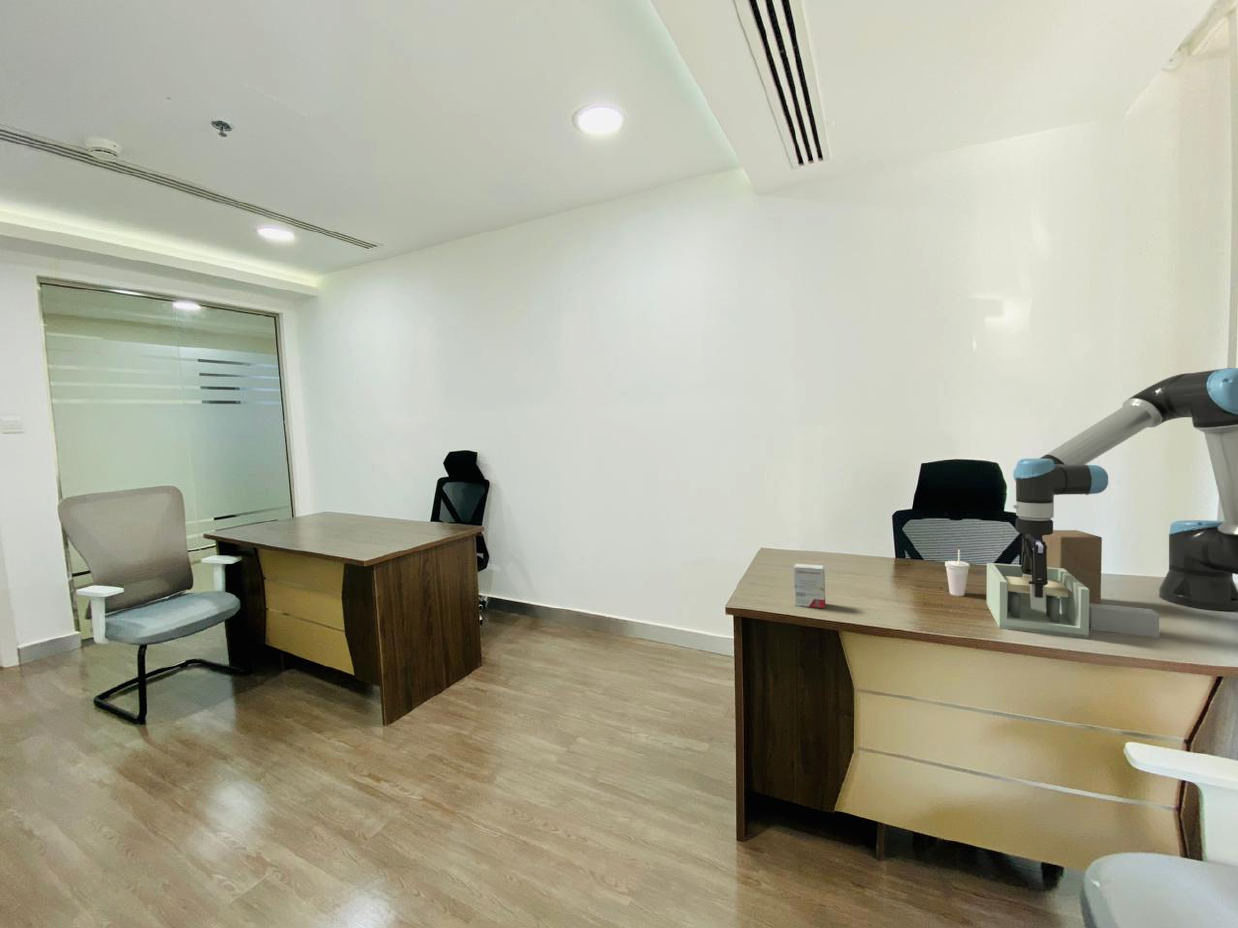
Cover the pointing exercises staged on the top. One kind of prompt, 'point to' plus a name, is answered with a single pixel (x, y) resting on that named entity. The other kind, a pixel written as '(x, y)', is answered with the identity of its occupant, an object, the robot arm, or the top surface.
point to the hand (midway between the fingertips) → (1033, 603)
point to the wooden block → (1077, 558)
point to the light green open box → (1016, 613)
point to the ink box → (809, 585)
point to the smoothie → (957, 576)
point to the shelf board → (1024, 587)
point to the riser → (1124, 620)
